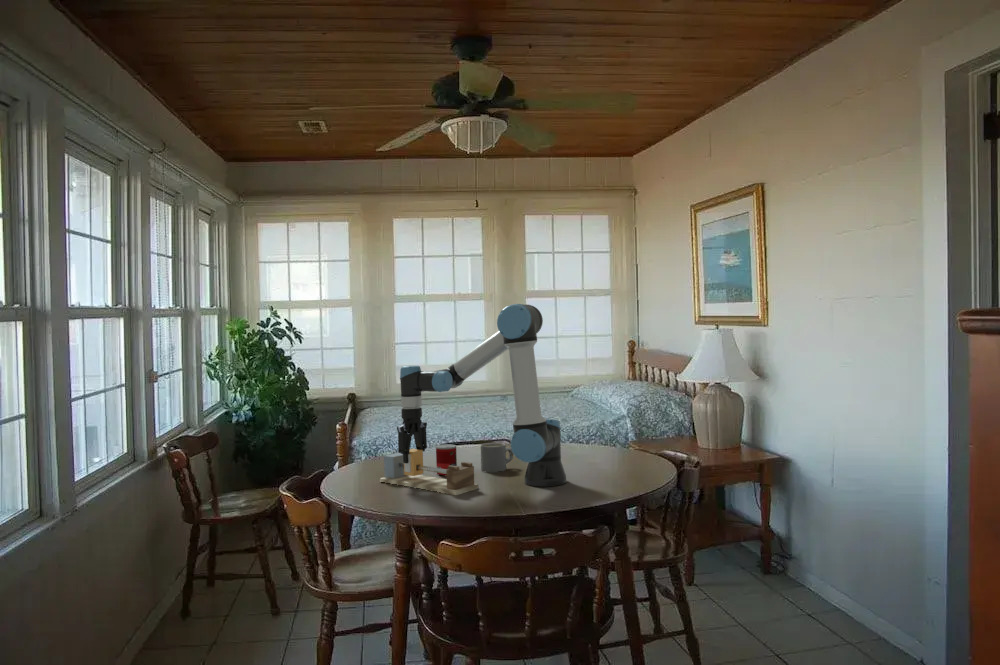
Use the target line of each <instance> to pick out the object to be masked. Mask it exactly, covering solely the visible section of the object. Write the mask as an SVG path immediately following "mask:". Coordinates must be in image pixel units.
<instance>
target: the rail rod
mask: <svg viewBox="0 0 1000 665" xmlns="http://www.w3.org/2000/svg"><path fill="white" fill-rule="evenodd" d="M399 467H403V468H404V463H399ZM416 469H417V470H423V472H424V471H425V472H432V473H436V474H437V473H444V474H447V472H446V470H448V469H441V468H437V467H435V466H434V467H433V466H432V467H431V466H425V465H423V466H420V465H416Z"/></svg>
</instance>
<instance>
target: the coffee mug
mask: <svg viewBox="0 0 1000 665" xmlns="http://www.w3.org/2000/svg"><path fill="white" fill-rule="evenodd" d="M507 452H508V453H509V456H508V457H507ZM513 459H514V454H513V452H512V450H511V447H506V443H503V442H485V443H481V444H480V469H481V470H482V472H483V471H486V472H485V473H499V472H498V471H502V472H505V471H507V464H508V463H511V462H512V460H513ZM504 470H505V471H504Z"/></svg>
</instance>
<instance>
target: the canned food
mask: <svg viewBox="0 0 1000 665" xmlns="http://www.w3.org/2000/svg"><path fill="white" fill-rule="evenodd" d="M435 458H436V461H435V462H436V463H435V464H436V468H441V469H448V466H450V465H452V466H458V465H457V464H458V463H457V461H458V460H457V458H458V456H457V445H456V444H451V443H449V444H448V443H447V444H445V443H444V444H437V445H436V446H435ZM436 474H437V475H438V474H439V475H438V476H440V475H447V474H444V473H437V472H436Z"/></svg>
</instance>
